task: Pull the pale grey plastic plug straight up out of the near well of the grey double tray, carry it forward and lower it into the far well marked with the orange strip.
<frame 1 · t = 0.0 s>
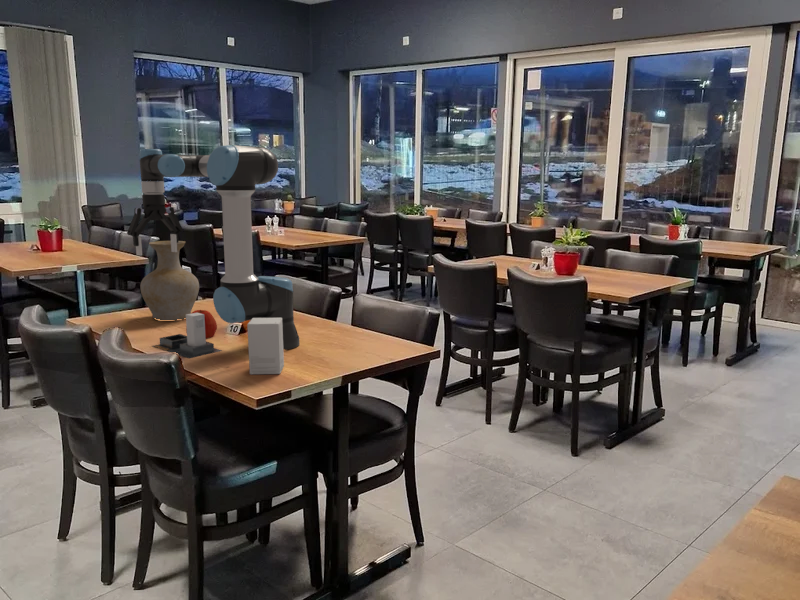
hand: (157, 253, 239), 28 cm above the table, fingers open, 13 cm apart
plug: (197, 351, 210), point 1 cm above the table, touching grey double tray
grey double tray: (186, 351, 214), on the table
apple: (201, 339, 230), on the table
supplement box: (267, 370, 195), on the table
vase: (172, 318, 264), on the table
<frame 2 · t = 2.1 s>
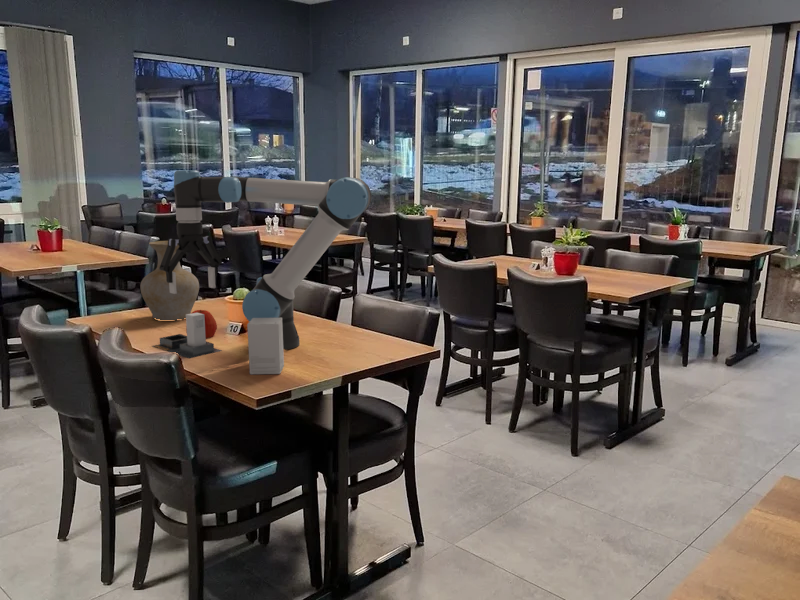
hand: (193, 290, 207), 21 cm above the table, fingers open, 13 cm apart
nothing on the table moved.
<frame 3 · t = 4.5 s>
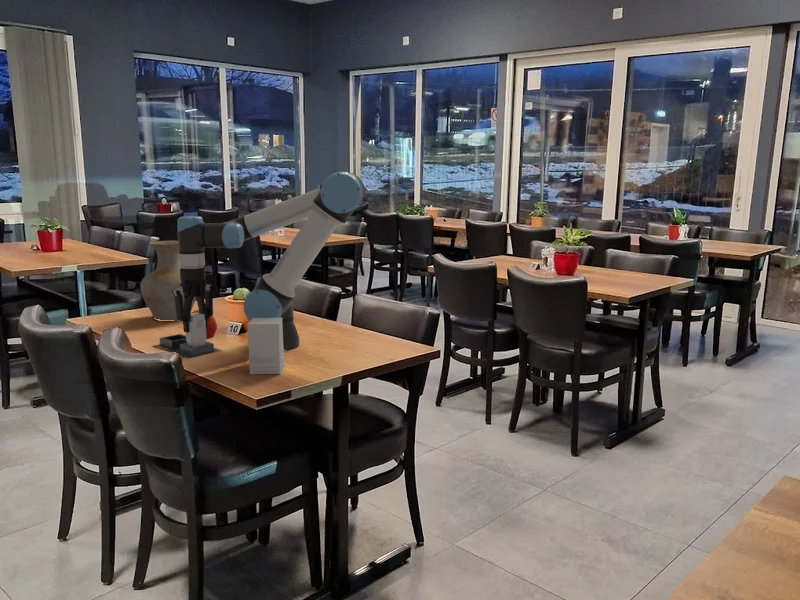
hand: (196, 340, 209), 5 cm above the table, fingers closed on plug, 4 cm apart
plug: (197, 351, 210), point 1 cm above the table, touching gripper, grey double tray
everything else where it was.
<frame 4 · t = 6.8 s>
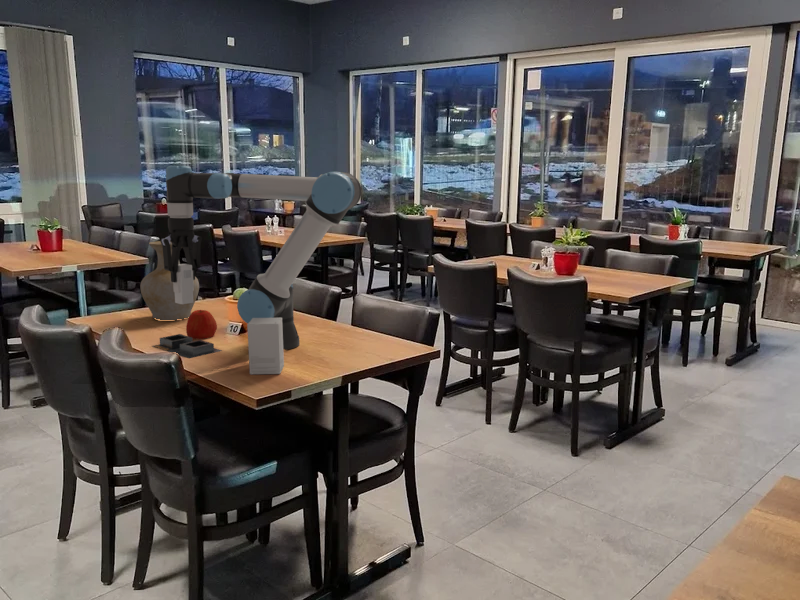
hand: (183, 291, 209), 20 cm above the table, fingers closed on plug, 4 cm apart
plug: (184, 302, 210), point 16 cm above the table, touching gripper
everything else where it was.
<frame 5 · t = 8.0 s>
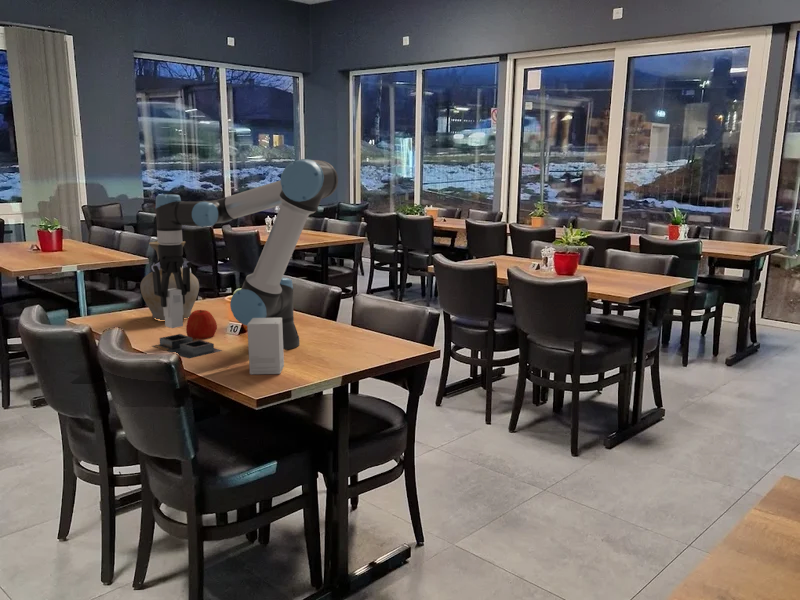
hand: (173, 315, 216), 11 cm above the table, fingers closed on plug, 4 cm apart
plug: (174, 326, 216), point 8 cm above the table, touching gripper
everything else where it was.
when the fingers open (6 cm above the table, at t = 9.1 s): plug drops 1 cm, resting on grey double tray.
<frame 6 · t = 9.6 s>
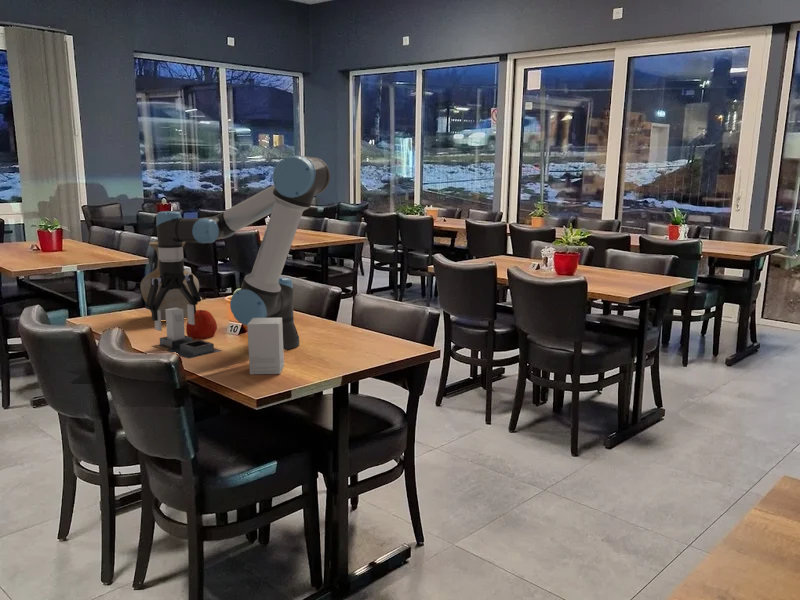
hand: (175, 327, 216), 7 cm above the table, fingers open, 11 cm apart
plug: (176, 345, 217), point 1 cm above the table, touching grey double tray
everything else where it was.
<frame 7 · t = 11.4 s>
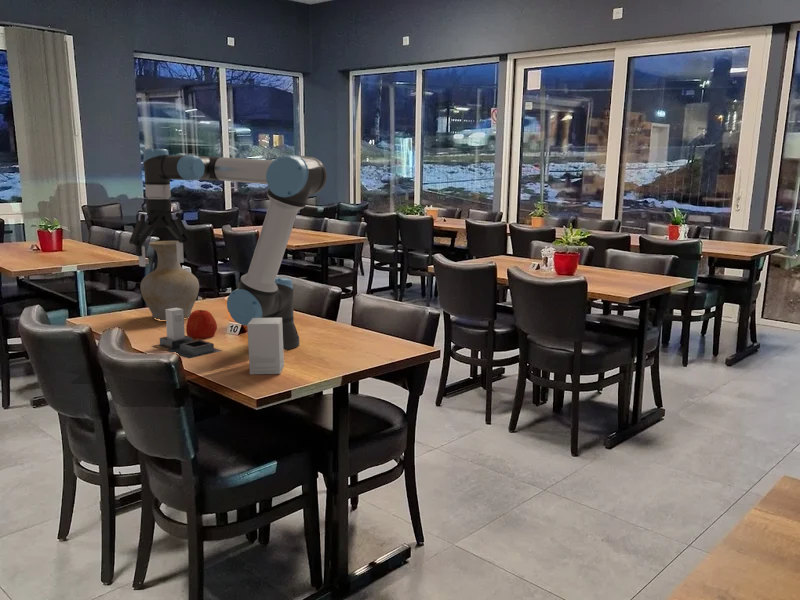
hand: (161, 264, 216), 27 cm above the table, fingers open, 13 cm apart
nothing on the table moved.
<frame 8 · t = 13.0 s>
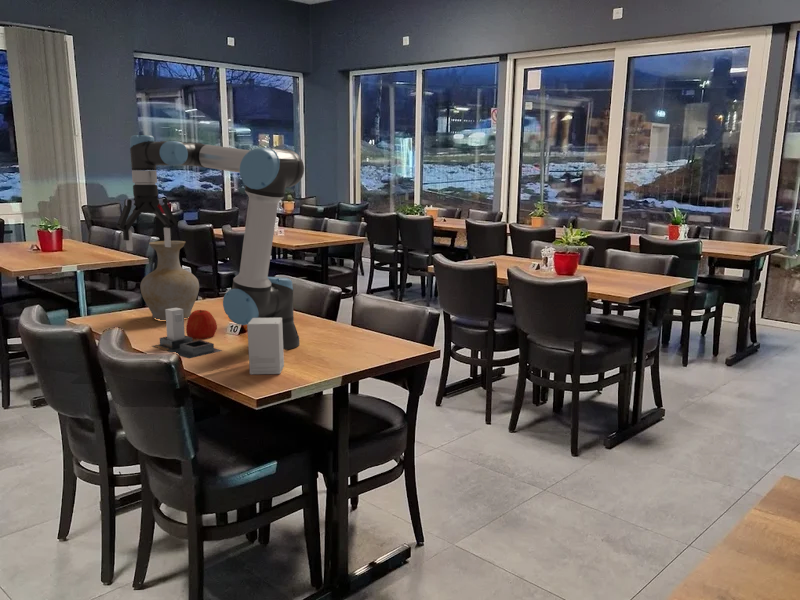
hand: (149, 248, 221), 32 cm above the table, fingers open, 13 cm apart
nothing on the table moved.
at the end: plug 0.0 cm from the target spot on the grey double tray, point 1.2 cm above the grey double tray's base; plug tilted 0°; the gripper is holding nothing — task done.
